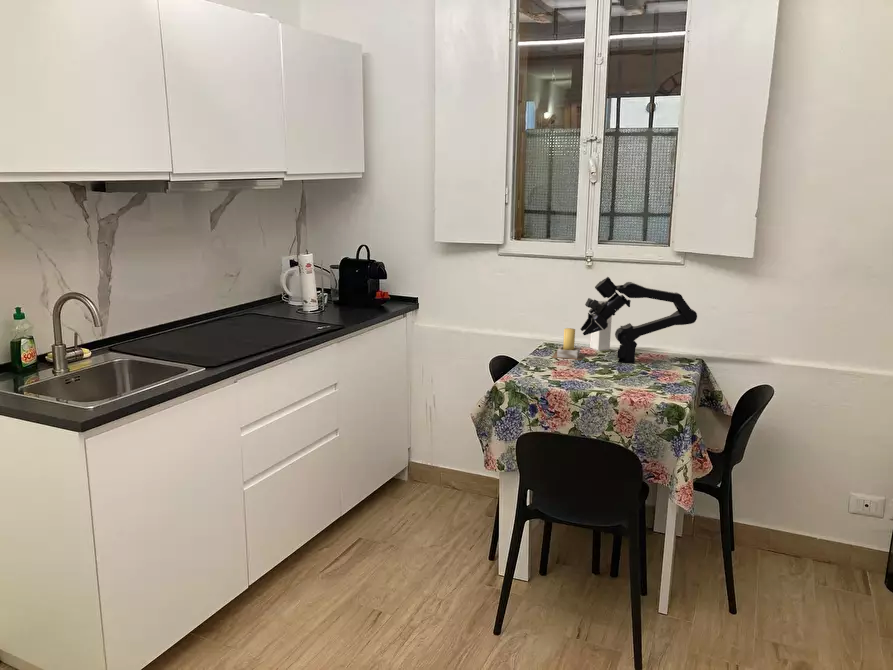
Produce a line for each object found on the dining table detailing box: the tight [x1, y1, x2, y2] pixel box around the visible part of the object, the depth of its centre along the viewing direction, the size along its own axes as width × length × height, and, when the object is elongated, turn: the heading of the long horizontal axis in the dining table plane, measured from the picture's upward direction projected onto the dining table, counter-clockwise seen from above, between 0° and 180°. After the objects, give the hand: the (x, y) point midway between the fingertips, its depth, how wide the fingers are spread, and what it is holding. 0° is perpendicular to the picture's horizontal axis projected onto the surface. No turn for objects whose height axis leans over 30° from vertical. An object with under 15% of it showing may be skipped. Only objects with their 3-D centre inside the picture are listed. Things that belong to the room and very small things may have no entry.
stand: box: [551, 345, 585, 361], centre depth 290 cm, size 12×12×4 cm
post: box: [562, 327, 576, 351], centre depth 289 cm, size 4×4×11 cm
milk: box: [589, 300, 613, 351], centre depth 303 cm, size 6×6×22 cm
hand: (582, 332), depth 288 cm, fingers open, 9 cm apart
